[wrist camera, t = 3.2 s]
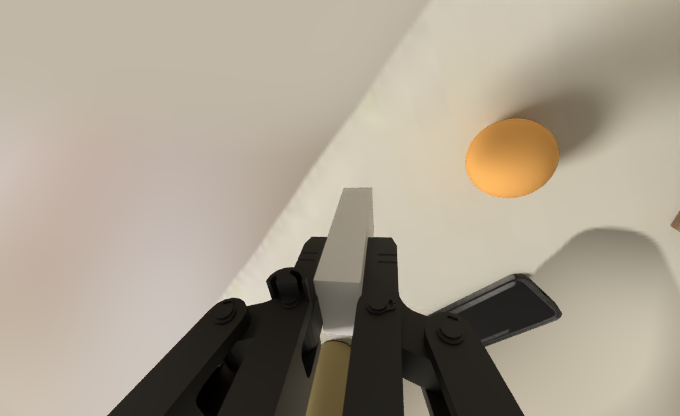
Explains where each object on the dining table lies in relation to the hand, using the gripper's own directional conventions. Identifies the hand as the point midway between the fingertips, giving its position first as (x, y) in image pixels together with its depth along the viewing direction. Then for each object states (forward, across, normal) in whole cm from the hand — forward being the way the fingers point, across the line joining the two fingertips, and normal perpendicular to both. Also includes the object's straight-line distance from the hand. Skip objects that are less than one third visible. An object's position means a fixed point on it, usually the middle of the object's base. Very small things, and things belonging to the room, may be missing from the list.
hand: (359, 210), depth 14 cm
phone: (+11, -12, +21) cm, 26 cm away
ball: (+7, -10, 0) cm, 12 cm away
